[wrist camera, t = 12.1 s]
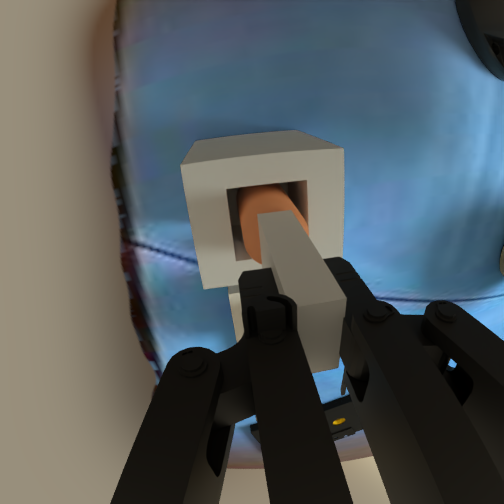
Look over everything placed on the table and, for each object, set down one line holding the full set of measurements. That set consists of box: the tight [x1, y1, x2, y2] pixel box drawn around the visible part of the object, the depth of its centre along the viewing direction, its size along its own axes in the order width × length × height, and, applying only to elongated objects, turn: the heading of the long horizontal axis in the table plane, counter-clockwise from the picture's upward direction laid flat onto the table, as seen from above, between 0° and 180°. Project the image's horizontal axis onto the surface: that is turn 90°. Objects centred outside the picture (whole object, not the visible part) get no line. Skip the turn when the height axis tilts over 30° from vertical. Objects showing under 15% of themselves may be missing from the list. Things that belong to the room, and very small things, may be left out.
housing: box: [180, 130, 344, 289], centre depth 20 cm, size 7×8×10 cm
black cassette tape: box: [250, 395, 363, 444], centre depth 43 cm, size 18×12×2 cm, turn 108°
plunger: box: [236, 183, 309, 264], centre depth 17 cm, size 3×3×6 cm
